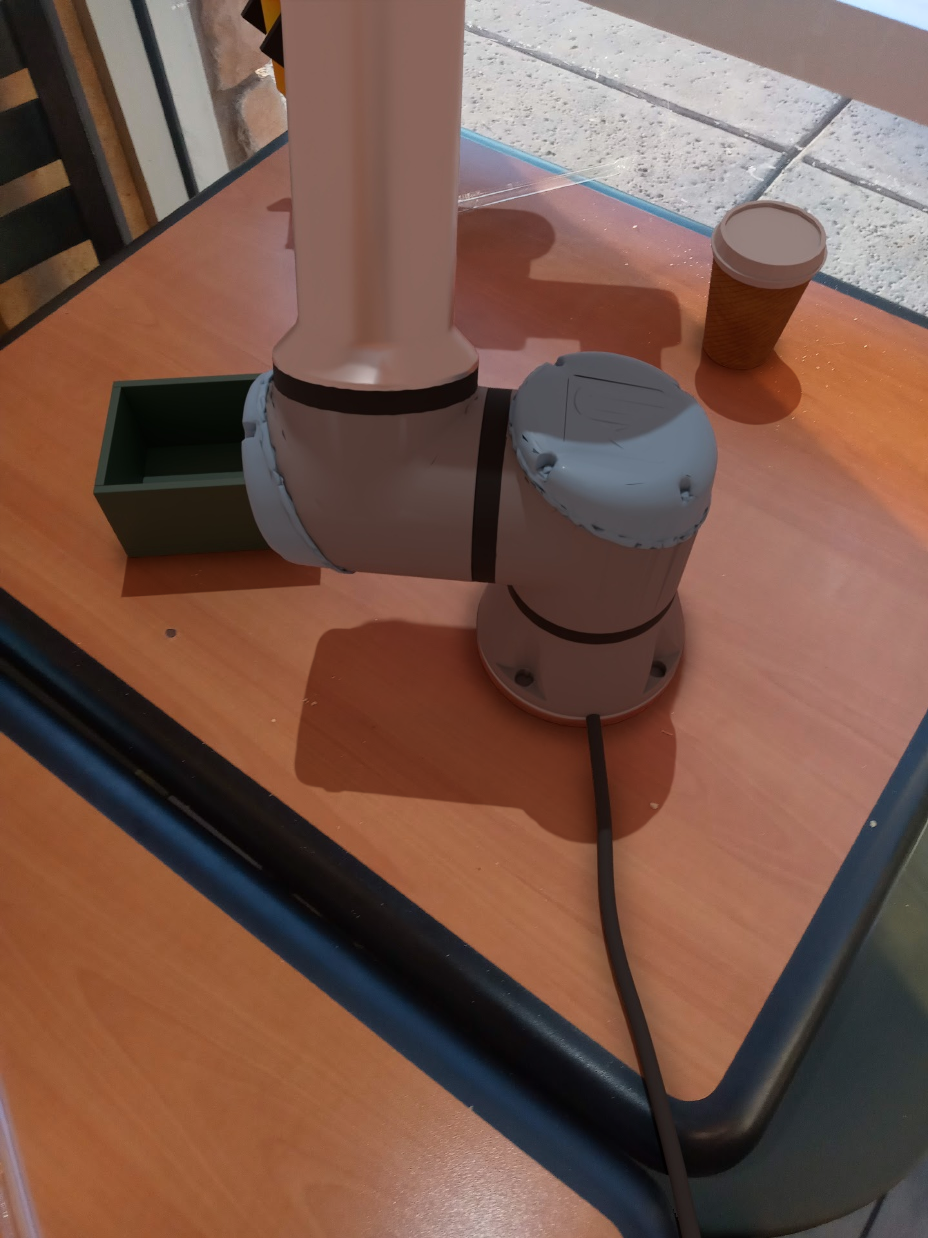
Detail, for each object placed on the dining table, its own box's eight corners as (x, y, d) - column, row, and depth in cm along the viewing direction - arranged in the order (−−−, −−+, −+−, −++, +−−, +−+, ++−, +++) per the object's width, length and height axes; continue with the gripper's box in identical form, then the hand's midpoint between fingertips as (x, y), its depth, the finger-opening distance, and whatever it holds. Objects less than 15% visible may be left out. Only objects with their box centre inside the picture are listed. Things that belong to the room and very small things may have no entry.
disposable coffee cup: (810, 354, 84) (857, 240, 74) (734, 397, 81) (772, 284, 71) (738, 298, 88) (774, 182, 78) (663, 336, 85) (690, 222, 75)
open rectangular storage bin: (321, 546, 73) (306, 480, 66) (127, 557, 72) (92, 493, 65) (323, 439, 79) (309, 369, 72) (144, 450, 78) (113, 380, 71)
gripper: (489, -132, 73) (323, 114, 84) (407, -211, 83) (267, 19, 93) (424, -208, 68) (256, 66, 79) (345, -283, 77) (204, -30, 88)
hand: (262, 40), depth 86 cm, fingers closed on beer can, 6 cm apart
